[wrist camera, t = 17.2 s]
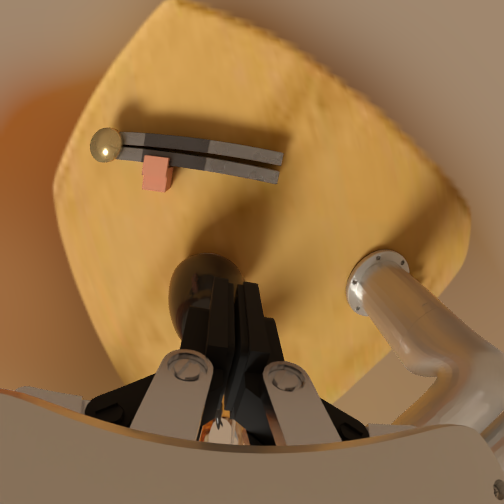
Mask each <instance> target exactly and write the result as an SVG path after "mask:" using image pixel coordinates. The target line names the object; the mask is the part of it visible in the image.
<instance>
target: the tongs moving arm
mask: <svg viewBox="0 0 504 504" xmlns="http://www.w3.org/2000/svg"><path fill="white" fill-rule="evenodd" d="M120 134H121V135H122V138H123V144H124V145H139V146H150V147H161V148H171V149H180V150H189V151H197V152H204V153H212V154H218V155H225V156H231V157H237V158H243V159H249V160H254V161H260V162H265V163H270V164H275V165H280V166H281V163H282V158H283V154H284V153H280V152H276V151H271V150H266V149H261V148H255V147H250V146H244V145H239V144H233V143H227V142H220V141H213V140H206V139H199V138H191V137H182V136H172V135H162V134H149V133H134V132H120Z"/></svg>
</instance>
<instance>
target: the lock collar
mask: <svg viewBox="0 0 504 504" xmlns="http://www.w3.org/2000/svg"><path fill="white" fill-rule="evenodd" d="M169 160H170V158H167V157H159V156H151V155H145V156H144V163H143V170H142V175H144V177H143V185H142V189H144V190H152V191H159V192H166V191H167V190H168V189H170V186H171V179H172V173H173V167H174V166H169Z"/></svg>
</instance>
